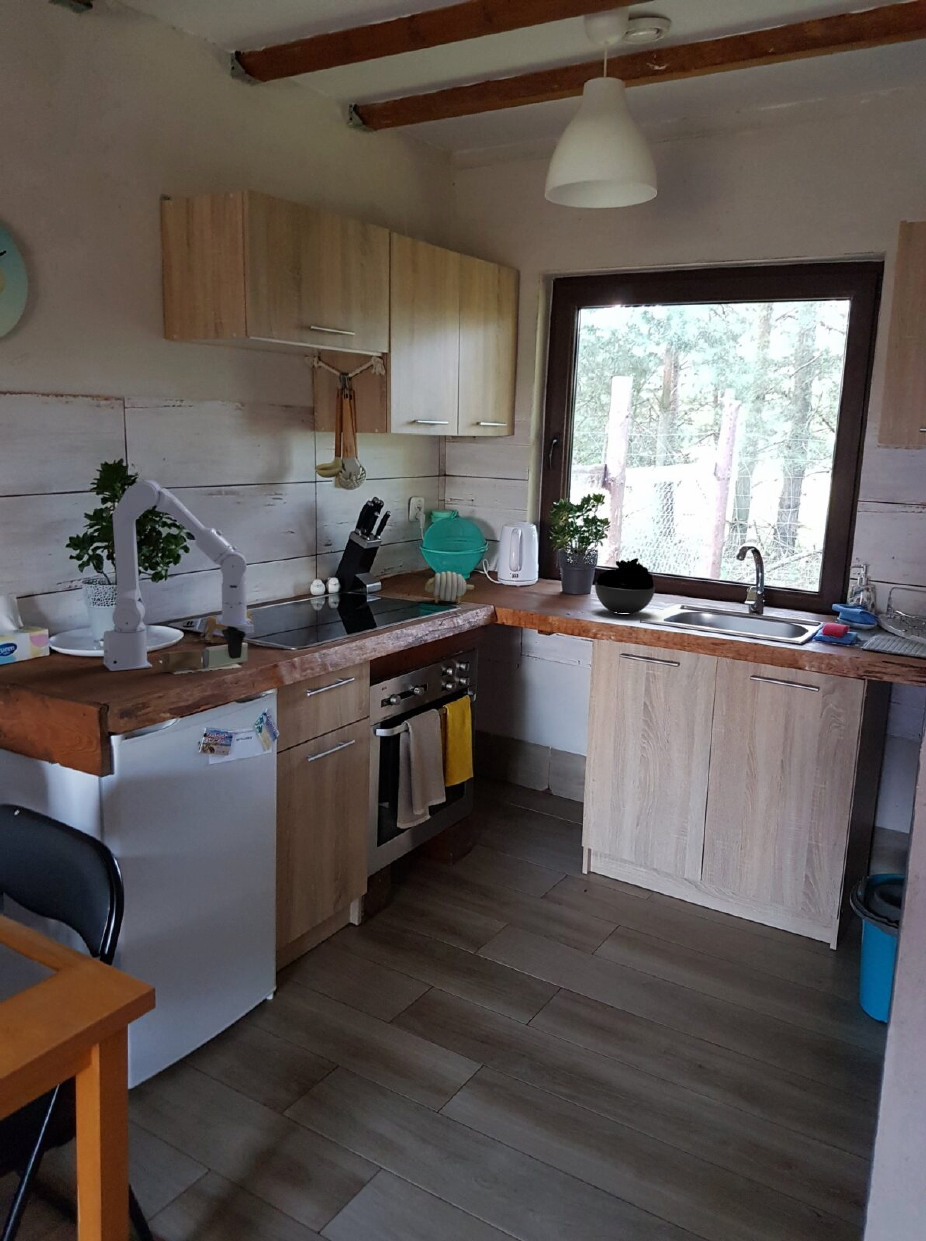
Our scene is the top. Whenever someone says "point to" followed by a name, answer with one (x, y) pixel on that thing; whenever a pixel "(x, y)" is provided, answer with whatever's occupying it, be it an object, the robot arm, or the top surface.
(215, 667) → the card
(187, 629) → the top surface
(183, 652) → the brown wooden block
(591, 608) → the top surface
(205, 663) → the pale green long block
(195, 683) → the top surface
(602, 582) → the bowl of black rocks
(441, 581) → the toy sheep
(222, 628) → the lion figurine
